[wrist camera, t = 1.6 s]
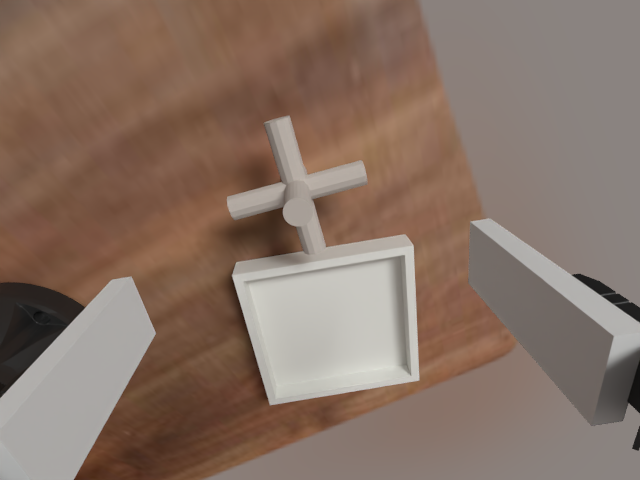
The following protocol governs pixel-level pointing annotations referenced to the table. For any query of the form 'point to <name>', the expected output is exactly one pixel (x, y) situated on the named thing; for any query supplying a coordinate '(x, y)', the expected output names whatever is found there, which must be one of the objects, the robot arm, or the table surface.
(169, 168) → the table surface
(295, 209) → the pipe connector
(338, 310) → the tray
